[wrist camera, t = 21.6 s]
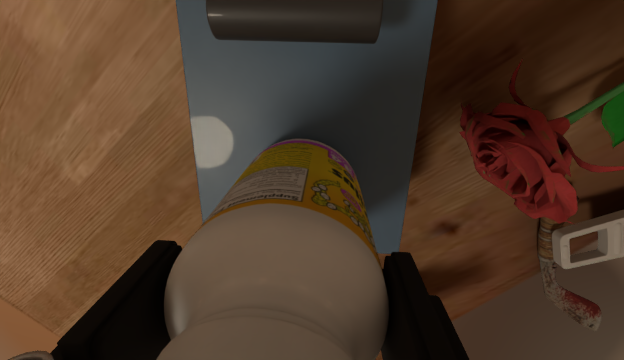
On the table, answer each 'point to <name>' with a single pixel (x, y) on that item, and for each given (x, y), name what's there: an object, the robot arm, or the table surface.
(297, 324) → the supplement bottle
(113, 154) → the table surface
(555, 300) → the machete
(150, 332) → the robot arm
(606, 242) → the zipper pull
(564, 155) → the flower
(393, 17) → the lid
